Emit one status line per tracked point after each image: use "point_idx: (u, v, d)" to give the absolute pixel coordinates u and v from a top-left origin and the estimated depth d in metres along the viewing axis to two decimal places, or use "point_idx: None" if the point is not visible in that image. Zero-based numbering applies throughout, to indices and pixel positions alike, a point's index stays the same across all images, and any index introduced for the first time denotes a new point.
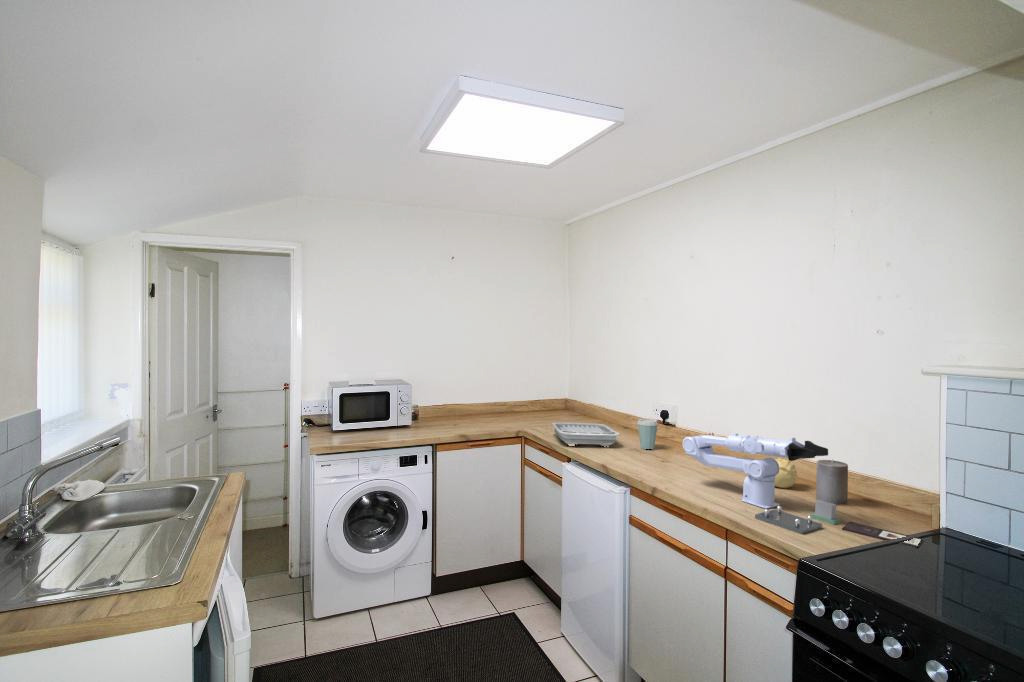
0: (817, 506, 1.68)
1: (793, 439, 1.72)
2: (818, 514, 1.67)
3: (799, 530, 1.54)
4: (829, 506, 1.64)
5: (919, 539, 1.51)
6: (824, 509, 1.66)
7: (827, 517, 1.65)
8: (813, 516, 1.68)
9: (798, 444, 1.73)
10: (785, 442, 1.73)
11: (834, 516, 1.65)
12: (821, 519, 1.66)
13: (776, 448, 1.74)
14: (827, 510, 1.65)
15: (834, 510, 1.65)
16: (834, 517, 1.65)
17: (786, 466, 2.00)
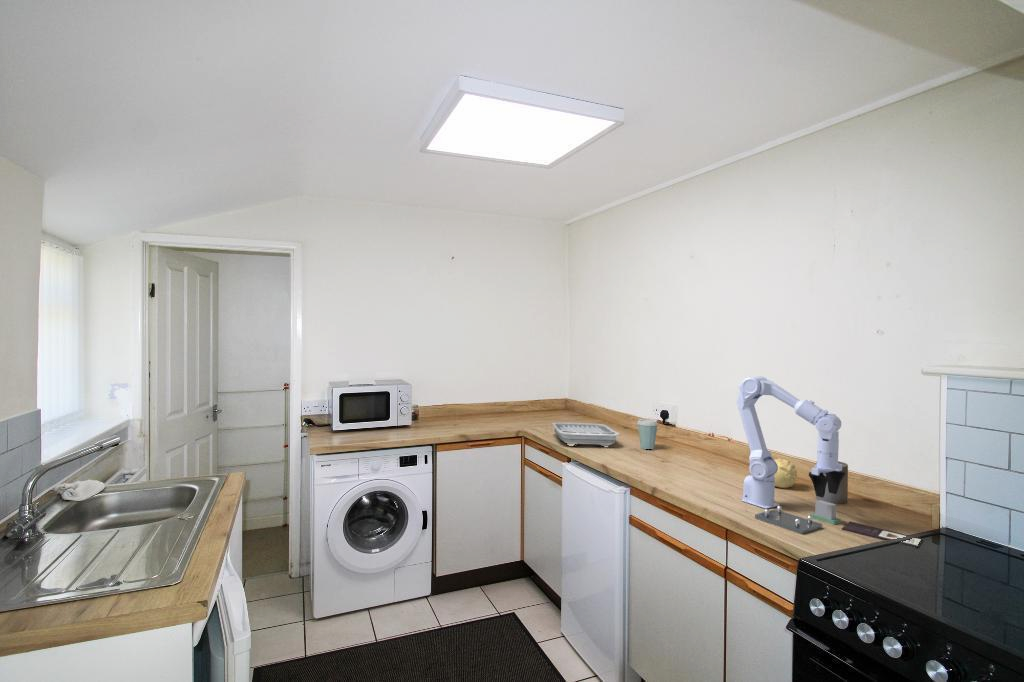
0: (817, 506, 1.68)
1: None
2: (818, 514, 1.67)
3: (799, 530, 1.54)
4: (829, 506, 1.64)
5: (919, 539, 1.51)
6: (824, 509, 1.66)
7: (827, 517, 1.65)
8: (813, 516, 1.68)
9: None
10: (832, 464, 1.64)
11: (834, 516, 1.65)
12: (821, 519, 1.66)
13: (823, 455, 1.65)
14: (827, 510, 1.65)
15: (834, 510, 1.65)
16: (834, 517, 1.65)
17: (786, 466, 2.00)
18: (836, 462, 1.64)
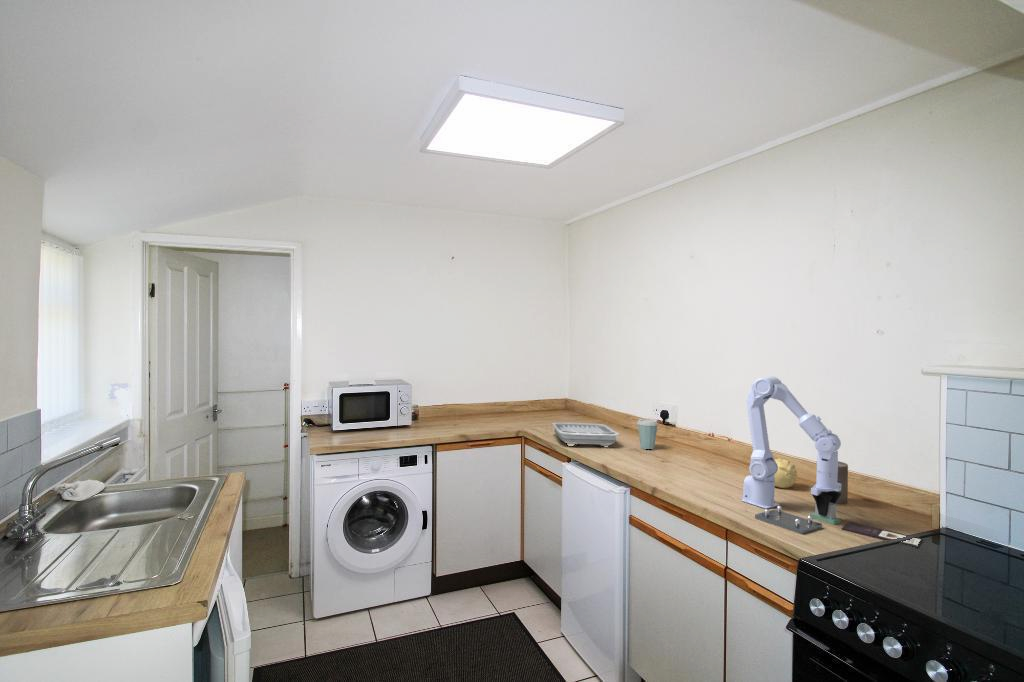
0: None
1: None
2: (818, 514, 1.67)
3: (799, 530, 1.54)
4: (829, 506, 1.64)
5: (919, 539, 1.51)
6: None
7: (827, 517, 1.65)
8: (813, 516, 1.68)
9: None
10: (831, 484, 1.64)
11: (834, 516, 1.65)
12: (821, 519, 1.66)
13: (823, 475, 1.65)
14: None
15: (834, 510, 1.65)
16: (834, 517, 1.65)
17: (786, 466, 2.00)
18: (835, 482, 1.64)
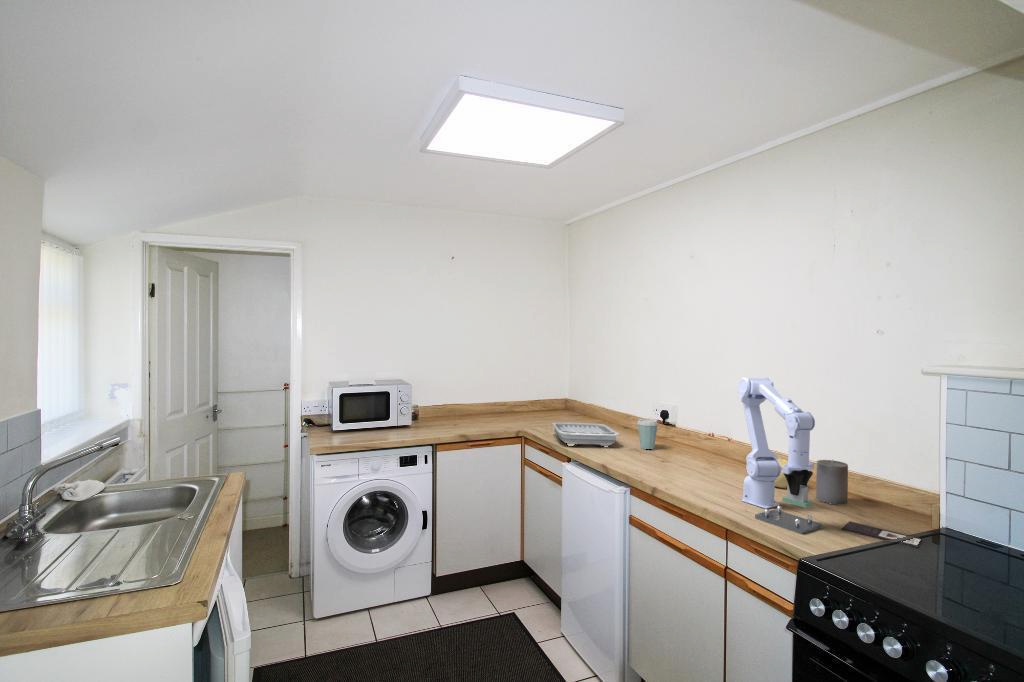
0: (789, 489, 1.64)
1: None
2: (790, 497, 1.64)
3: (799, 530, 1.54)
4: (801, 488, 1.61)
5: (919, 539, 1.51)
6: None
7: (799, 500, 1.62)
8: (785, 499, 1.65)
9: None
10: (803, 462, 1.61)
11: (806, 499, 1.62)
12: (793, 502, 1.62)
13: (794, 453, 1.62)
14: (799, 493, 1.62)
15: (806, 493, 1.62)
16: (806, 500, 1.62)
17: None
18: (807, 460, 1.61)
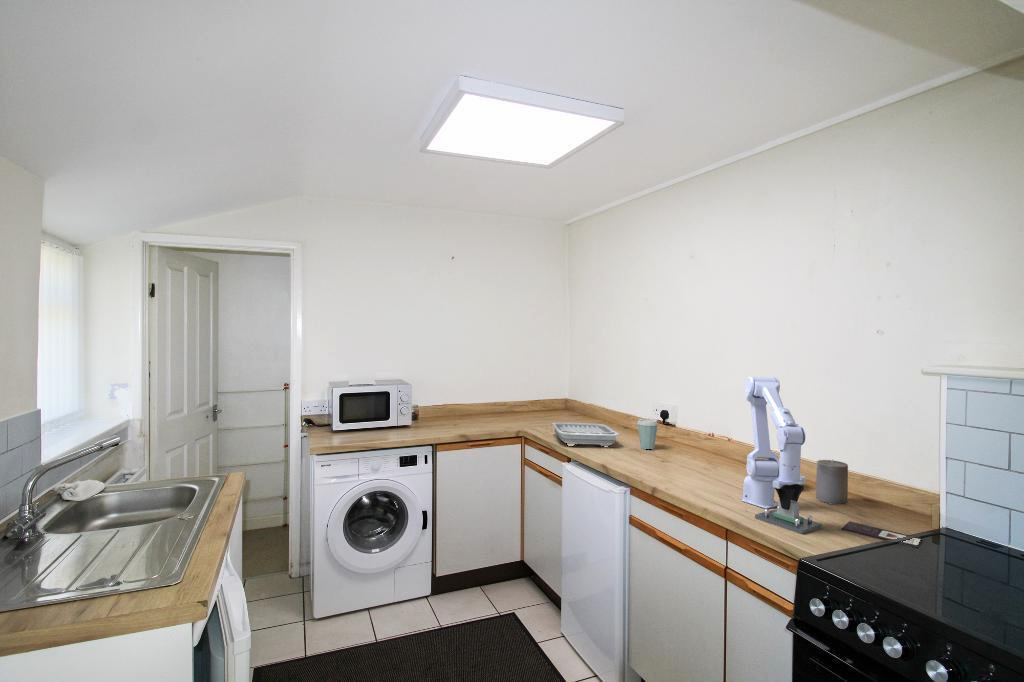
0: (780, 504, 1.64)
1: None
2: (781, 512, 1.63)
3: (799, 530, 1.54)
4: (792, 504, 1.60)
5: (918, 539, 1.51)
6: None
7: (790, 515, 1.61)
8: (776, 514, 1.64)
9: None
10: (794, 476, 1.60)
11: (797, 514, 1.61)
12: (784, 517, 1.62)
13: (785, 467, 1.61)
14: (790, 508, 1.61)
15: (797, 508, 1.61)
16: (797, 515, 1.61)
17: None
18: (798, 475, 1.60)
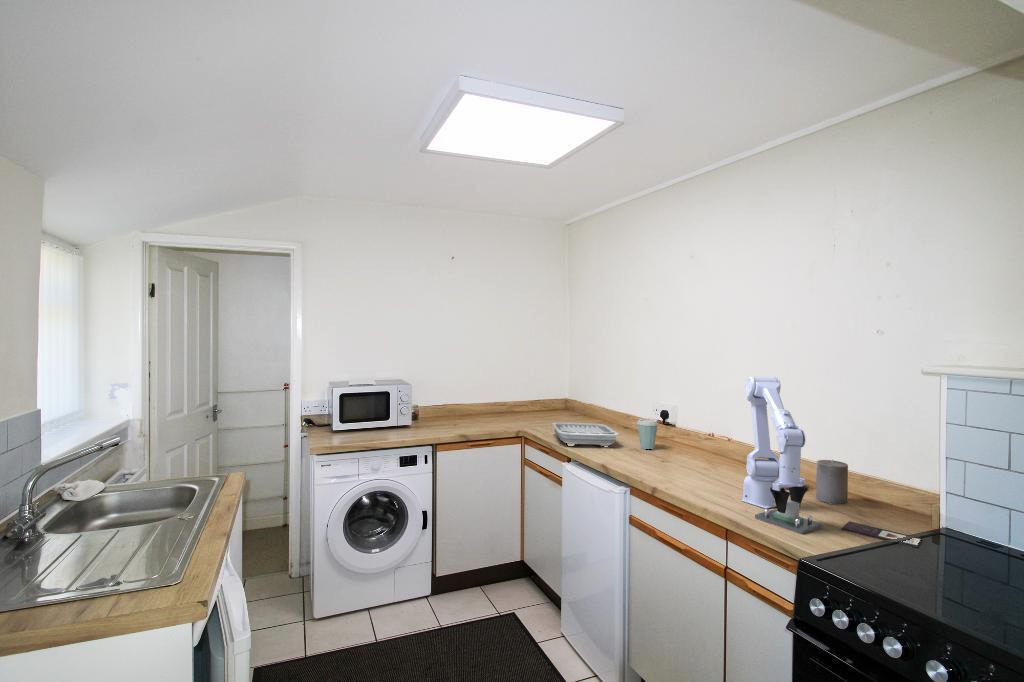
0: None
1: None
2: (781, 513, 1.63)
3: (799, 530, 1.54)
4: (792, 505, 1.60)
5: (918, 539, 1.51)
6: (787, 508, 1.62)
7: (790, 516, 1.61)
8: (776, 515, 1.64)
9: None
10: (794, 479, 1.60)
11: (797, 515, 1.61)
12: (784, 518, 1.62)
13: (785, 470, 1.61)
14: (790, 509, 1.61)
15: (797, 509, 1.61)
16: (797, 516, 1.61)
17: None
18: (798, 477, 1.60)
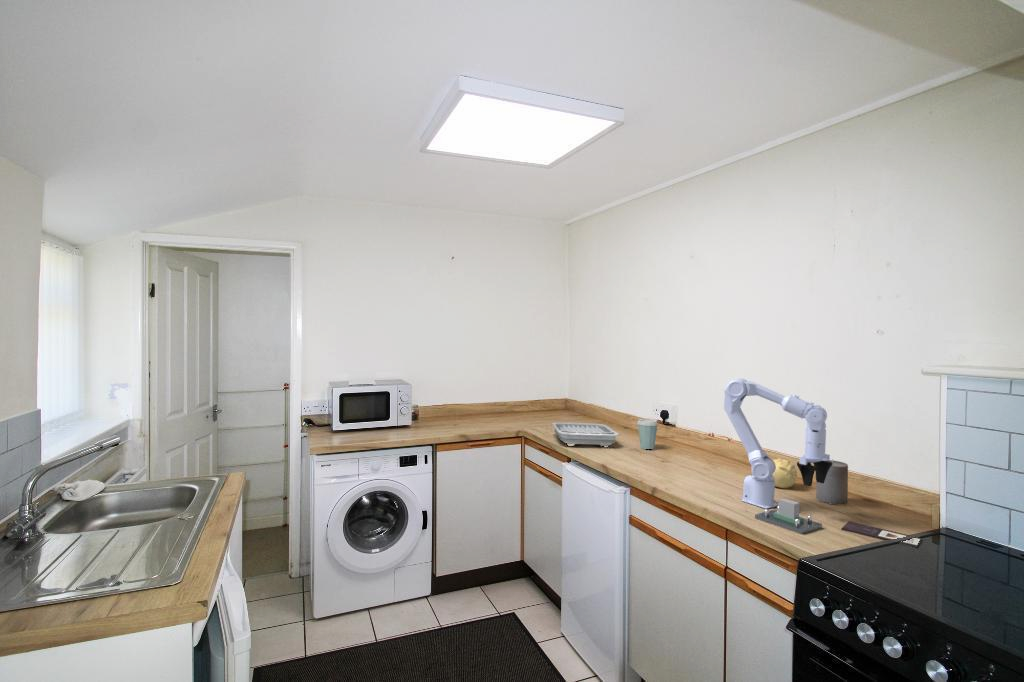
0: (780, 505, 1.63)
1: (825, 460, 1.69)
2: (781, 513, 1.63)
3: (799, 530, 1.54)
4: (792, 505, 1.60)
5: (918, 538, 1.51)
6: (787, 508, 1.62)
7: (790, 516, 1.61)
8: (776, 515, 1.64)
9: None
10: (820, 454, 1.69)
11: (797, 515, 1.61)
12: (784, 518, 1.62)
13: (811, 445, 1.70)
14: (790, 509, 1.61)
15: (797, 509, 1.61)
16: (797, 516, 1.61)
17: (786, 466, 2.00)
18: (823, 452, 1.69)
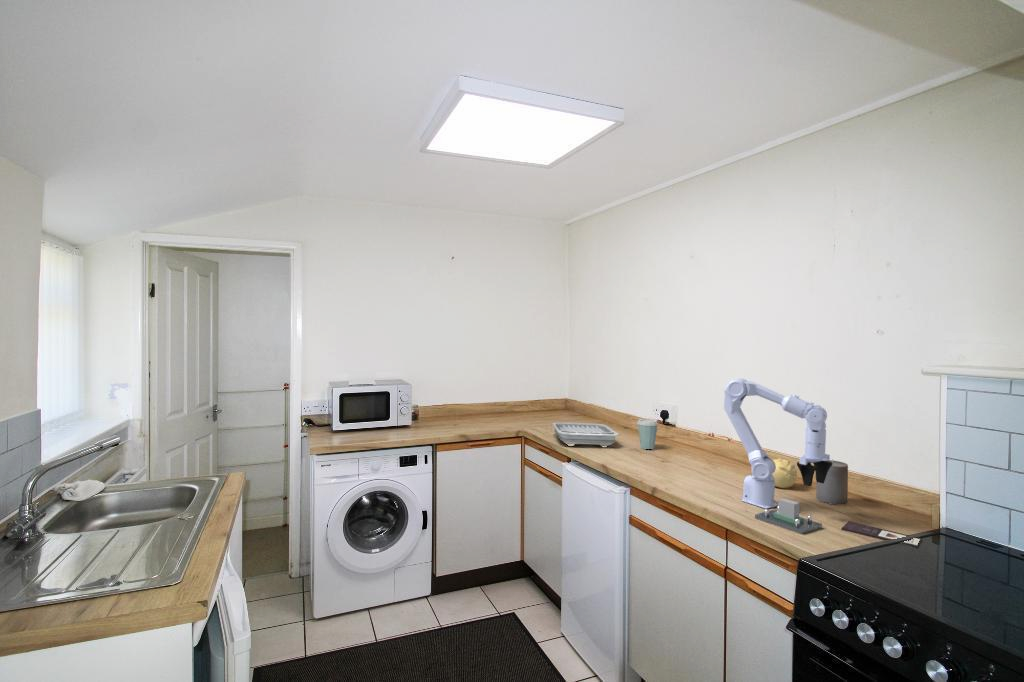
0: (780, 505, 1.63)
1: (825, 460, 1.69)
2: (781, 513, 1.63)
3: (799, 530, 1.54)
4: (792, 505, 1.60)
5: (918, 539, 1.51)
6: (787, 508, 1.62)
7: (790, 516, 1.61)
8: (776, 515, 1.64)
9: None
10: (820, 454, 1.69)
11: (797, 515, 1.61)
12: (784, 518, 1.62)
13: (811, 445, 1.70)
14: (790, 509, 1.61)
15: (797, 509, 1.61)
16: (797, 516, 1.61)
17: (786, 466, 2.00)
18: (823, 452, 1.69)
